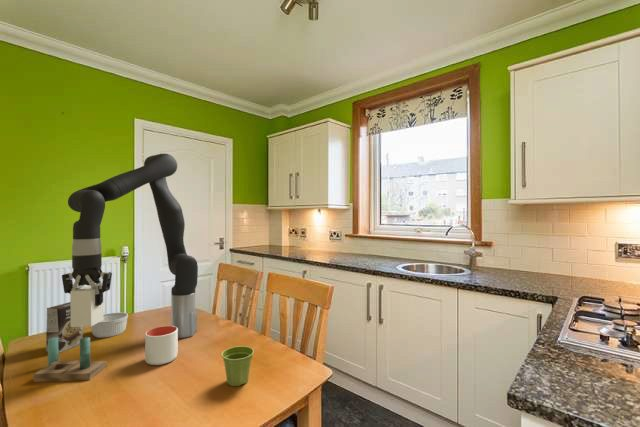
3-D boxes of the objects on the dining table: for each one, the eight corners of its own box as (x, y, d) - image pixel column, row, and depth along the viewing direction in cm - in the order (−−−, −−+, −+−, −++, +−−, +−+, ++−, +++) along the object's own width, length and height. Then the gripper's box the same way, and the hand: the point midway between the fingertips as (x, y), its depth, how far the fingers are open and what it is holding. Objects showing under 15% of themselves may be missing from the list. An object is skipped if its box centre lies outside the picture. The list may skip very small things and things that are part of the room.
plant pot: (227, 373, 98) (227, 345, 98) (257, 373, 97) (257, 345, 97) (216, 389, 88) (216, 359, 88) (249, 390, 88) (249, 359, 88)
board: (106, 367, 102) (106, 333, 102) (89, 379, 94) (89, 343, 94) (80, 367, 101) (80, 334, 101) (61, 380, 93) (62, 344, 93)
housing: (103, 319, 101) (103, 286, 101) (91, 326, 95) (91, 290, 95) (84, 320, 101) (83, 286, 101) (70, 327, 95) (70, 291, 95)
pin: (60, 364, 104) (60, 337, 104) (54, 367, 101) (54, 340, 101) (52, 364, 103) (52, 337, 104) (45, 368, 101) (45, 340, 101)
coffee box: (59, 353, 112) (59, 308, 112) (45, 352, 113) (45, 307, 113) (83, 343, 121) (83, 302, 121) (70, 342, 122) (70, 301, 122)
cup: (184, 356, 109) (184, 328, 109) (158, 369, 100) (158, 338, 100) (164, 351, 113) (164, 324, 113) (138, 363, 104) (138, 333, 104)
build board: (80, 367, 101) (80, 360, 101) (61, 380, 93) (61, 372, 93) (54, 368, 100) (54, 361, 100) (33, 381, 92) (33, 373, 92)
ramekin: (120, 325, 140) (120, 310, 141) (133, 331, 133) (133, 315, 133) (85, 334, 130) (85, 318, 130) (97, 342, 122) (97, 324, 122)
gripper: (117, 251, 103) (117, 301, 102) (71, 251, 101) (72, 303, 101) (103, 254, 95) (103, 308, 95) (53, 254, 94) (54, 310, 94)
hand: (87, 305), depth 98 cm, fingers closed on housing, 6 cm apart
